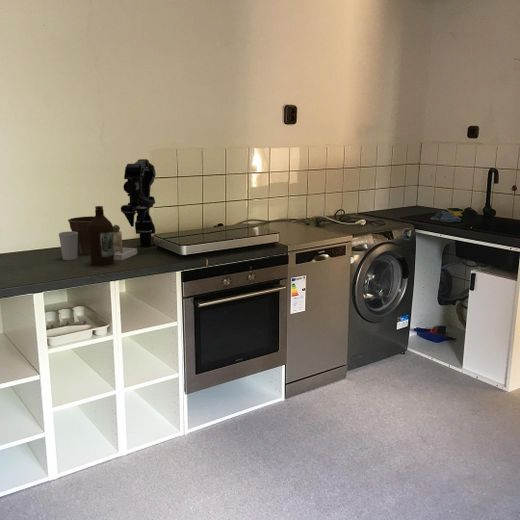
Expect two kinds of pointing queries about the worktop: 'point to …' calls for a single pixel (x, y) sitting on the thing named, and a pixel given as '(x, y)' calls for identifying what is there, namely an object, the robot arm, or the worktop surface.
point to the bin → (125, 253)
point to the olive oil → (101, 239)
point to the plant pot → (81, 232)
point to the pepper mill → (117, 239)
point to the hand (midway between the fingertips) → (137, 225)
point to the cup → (69, 245)
